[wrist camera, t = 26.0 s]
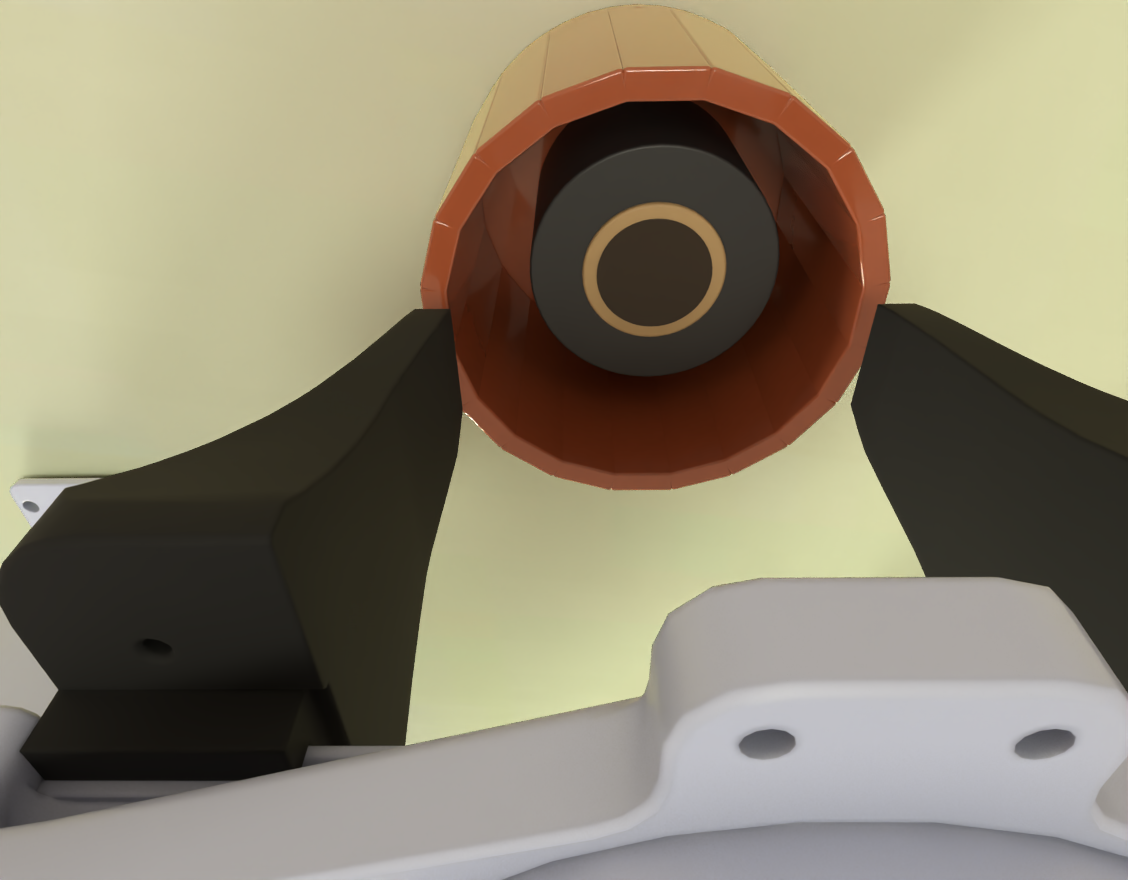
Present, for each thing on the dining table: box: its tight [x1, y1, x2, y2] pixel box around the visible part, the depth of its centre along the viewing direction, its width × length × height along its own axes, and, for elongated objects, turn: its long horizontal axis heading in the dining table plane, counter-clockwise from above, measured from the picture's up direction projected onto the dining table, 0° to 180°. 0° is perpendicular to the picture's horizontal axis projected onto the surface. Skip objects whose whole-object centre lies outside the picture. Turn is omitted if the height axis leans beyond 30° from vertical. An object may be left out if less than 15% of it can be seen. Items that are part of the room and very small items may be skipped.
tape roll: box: [530, 101, 780, 377], centre depth 17 cm, size 5×5×4 cm
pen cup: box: [420, 4, 891, 490], centre depth 17 cm, size 9×9×7 cm
